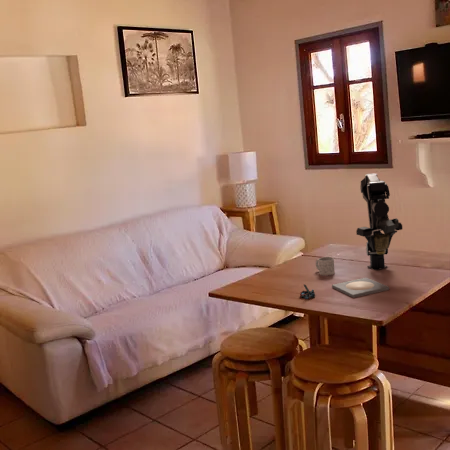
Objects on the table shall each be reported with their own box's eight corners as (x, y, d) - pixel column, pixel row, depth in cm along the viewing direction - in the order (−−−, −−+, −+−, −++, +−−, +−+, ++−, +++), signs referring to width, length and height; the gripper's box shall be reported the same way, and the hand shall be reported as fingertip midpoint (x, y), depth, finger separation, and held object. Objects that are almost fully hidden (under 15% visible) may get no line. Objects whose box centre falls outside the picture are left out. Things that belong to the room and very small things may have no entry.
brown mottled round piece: (391, 251, 244) (390, 232, 242) (388, 256, 237) (387, 237, 236) (373, 251, 247) (372, 233, 246) (370, 256, 240) (369, 237, 239)
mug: (337, 273, 257) (336, 258, 256) (326, 276, 253) (325, 261, 252) (322, 269, 265) (321, 255, 264) (311, 272, 262) (310, 258, 260)
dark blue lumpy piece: (320, 293, 225) (304, 281, 227) (309, 308, 224) (293, 296, 226) (321, 296, 232) (305, 285, 235) (310, 311, 231) (295, 299, 234)
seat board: (332, 287, 237) (331, 284, 237) (366, 280, 242) (366, 277, 242) (353, 297, 222) (353, 294, 222) (389, 289, 227) (389, 286, 227)
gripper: (369, 218, 229) (372, 256, 231) (410, 210, 234) (411, 248, 237) (354, 214, 239) (356, 251, 242) (393, 207, 245) (395, 244, 248)
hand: (380, 249), depth 242 cm, fingers closed on brown mottled round piece, 6 cm apart
